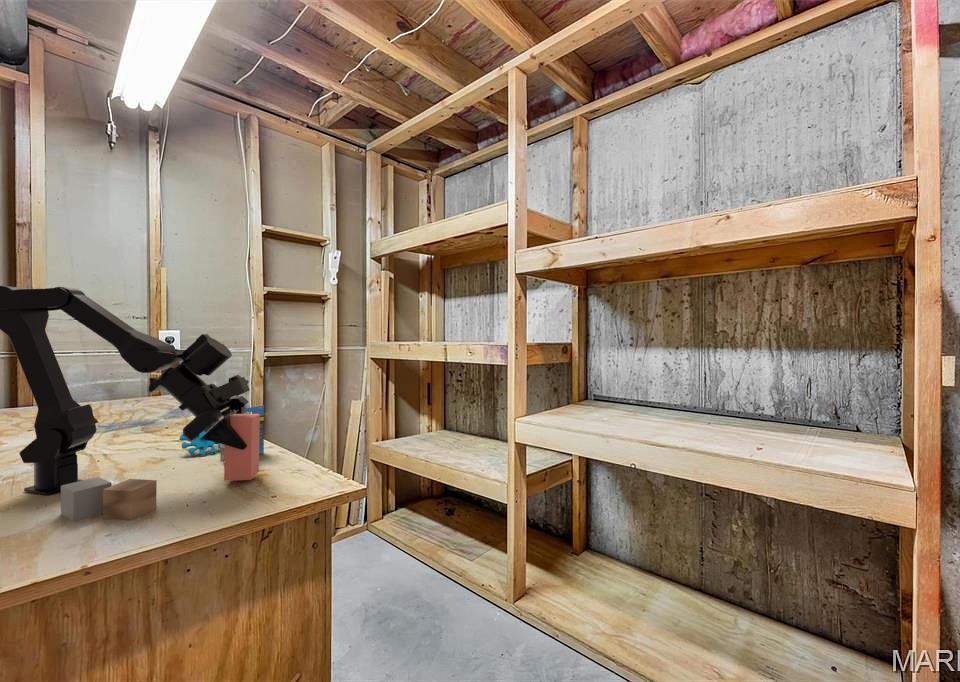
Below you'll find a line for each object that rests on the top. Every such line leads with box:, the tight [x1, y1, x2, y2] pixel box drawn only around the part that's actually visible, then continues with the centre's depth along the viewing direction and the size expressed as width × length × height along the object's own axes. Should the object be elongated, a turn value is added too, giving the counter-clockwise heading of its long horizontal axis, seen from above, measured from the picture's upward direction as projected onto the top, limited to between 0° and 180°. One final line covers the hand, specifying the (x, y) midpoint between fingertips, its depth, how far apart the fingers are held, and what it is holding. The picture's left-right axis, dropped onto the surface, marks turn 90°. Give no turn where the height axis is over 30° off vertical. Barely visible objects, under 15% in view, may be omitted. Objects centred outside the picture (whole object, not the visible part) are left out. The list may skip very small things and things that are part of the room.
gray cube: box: [60, 476, 113, 523], centre depth 73 cm, size 5×5×5 cm
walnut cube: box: [102, 478, 158, 521], centre depth 73 cm, size 5×5×5 cm
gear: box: [179, 431, 220, 457], centre depth 108 cm, size 11×6×10 cm
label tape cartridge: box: [219, 405, 265, 462], centre depth 104 cm, size 9×4×12 cm, turn 152°
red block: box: [223, 413, 260, 482], centre depth 89 cm, size 5×5×12 cm
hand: (249, 444), depth 89 cm, fingers closed on red block, 5 cm apart
